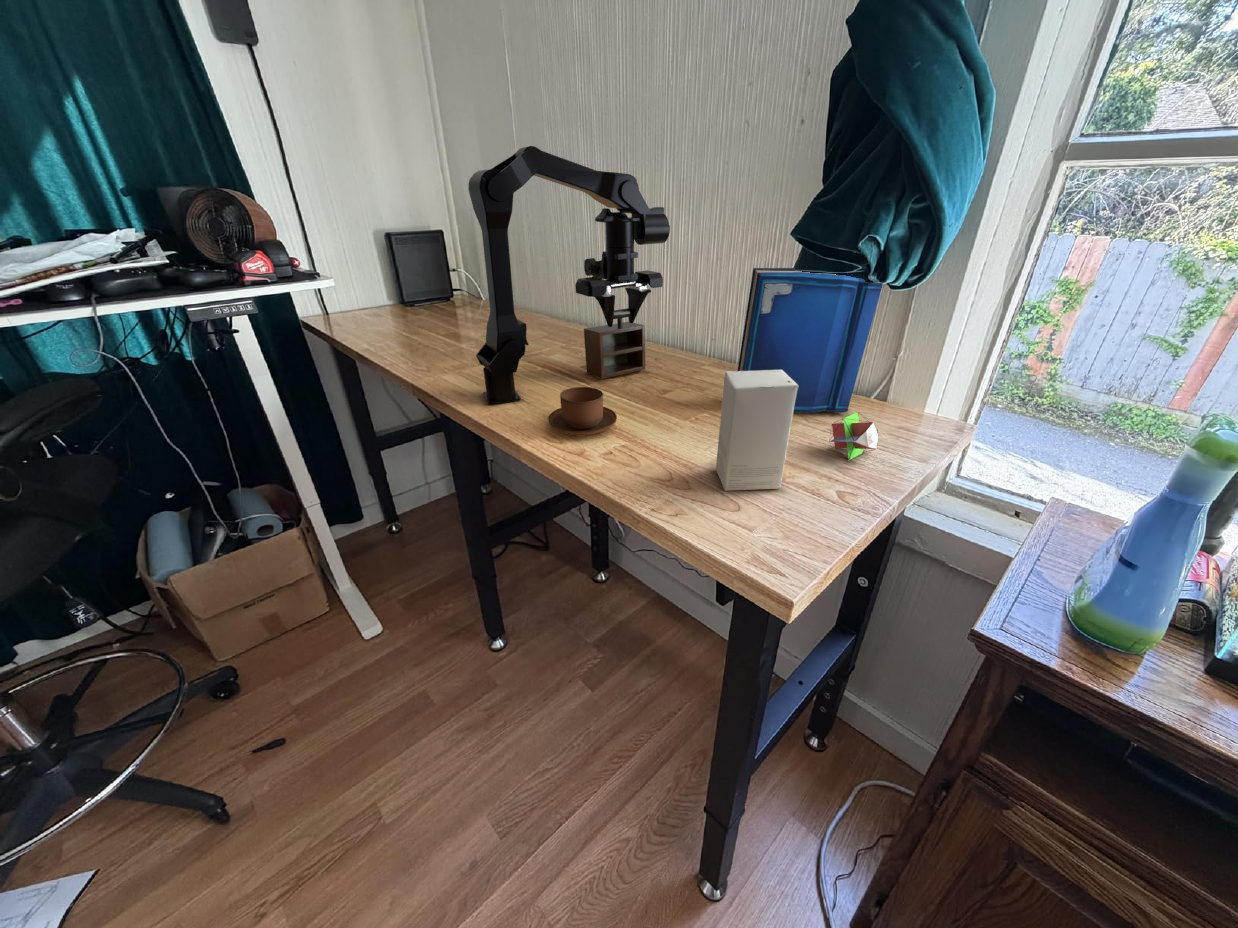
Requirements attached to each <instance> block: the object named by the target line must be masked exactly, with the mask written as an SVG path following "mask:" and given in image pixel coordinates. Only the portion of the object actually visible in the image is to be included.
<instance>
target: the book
mask: <svg viewBox="0 0 1238 928" xmlns="http://www.w3.org/2000/svg"><path fill="white" fill-rule="evenodd" d="M795 268H796V267H754V268H752V275H751V282H750V287H749V294H748V300H747V307H746V314H745V320H744V326H743V332H742V338H741V344H740V345H741V346H740V352H739V359H738V363H737V364H738V365H737V371H759V370H783V371H784V372H785V373H786V374H787V375H788V376H789V377H790V378H791V379H792V380H793V381H794V382H795V383H796V384H797V385H798V386H799V387H798V390H797V394H796V399H795V405H794V411H793V414H807V415H809V414H810V415H811V414H815V413H821V412H828V413H837V414H841V413H846V412H848V410H849V407H850V403H851V400H852V396H853V392H854V389H855V385H856V382H857V378H858V374H859V370H860V367H861V364H862V360H863V357H864V352H865V349H866V345H867V342H868V339H869V336H870V335H869V334H870V331H871V328H872V324H873V320H874V316H875V313H876V309H877V306H878V304H879V299H880V295H881V292H882V288H883V285H884V284H883V282H881V283H869V282H865V280H864V279H862V278H856V277H851V276H846V275H836V274H821V273H810V272H802V271H795Z"/></svg>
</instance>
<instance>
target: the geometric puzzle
mask: <svg viewBox="0 0 1238 928" xmlns="http://www.w3.org/2000/svg"><path fill="white" fill-rule="evenodd" d="M859 415H860V416H862V414H861V413H860V412H859V411H858V410H857V411H856V412H854V413H851V414H849V415H847V416H845V417H842V418H841V420H840V419H839V420H838V419H837V420H836V421H834V422H831V423H830V424H831V427H830V428H831V430H832V432H831V431H830V433H829V434H831V433H832V436H830V438H829V440H828V443H834V449H835V450H837V451H838V452H840V449H841V450H843V451H847V456H848V457H847V458H848V459H847V461H851V460H853V459H855V458H857V457H859V456H863V455H864V454H865V453H866V454H867V453H868V454H869V452H873V451H875V450H878V448H877V447H878V442H879V436H880V435H879V433H878V431H879V429H877V428H876V425H875V422H874V421H868V420H869V418H867V417H866V415H863V418H866V421H865V420H864V422H861V420H860V418H859ZM832 438H833V439H832ZM866 450H867V451H866ZM840 454H841V455H842V456H843V457H845V455H844V454H843V453H842V452H840Z"/></svg>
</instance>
